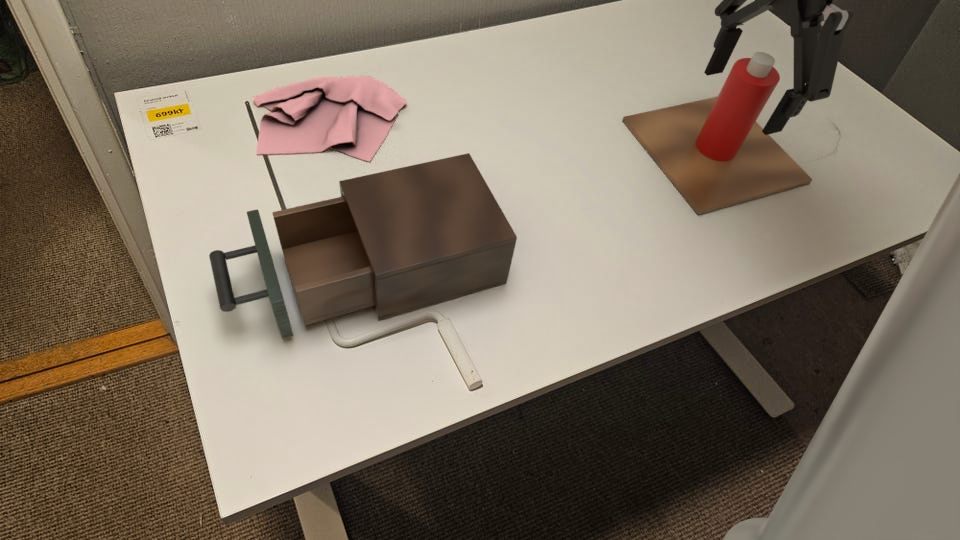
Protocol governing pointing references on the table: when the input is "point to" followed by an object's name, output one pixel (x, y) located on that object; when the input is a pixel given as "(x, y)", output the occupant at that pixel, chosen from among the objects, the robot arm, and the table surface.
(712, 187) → the brown wooden square board
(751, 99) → the red cylinder white end
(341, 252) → the drawer
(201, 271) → the table surface
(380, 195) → the cabinet
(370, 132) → the cloth
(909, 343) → the robot arm
